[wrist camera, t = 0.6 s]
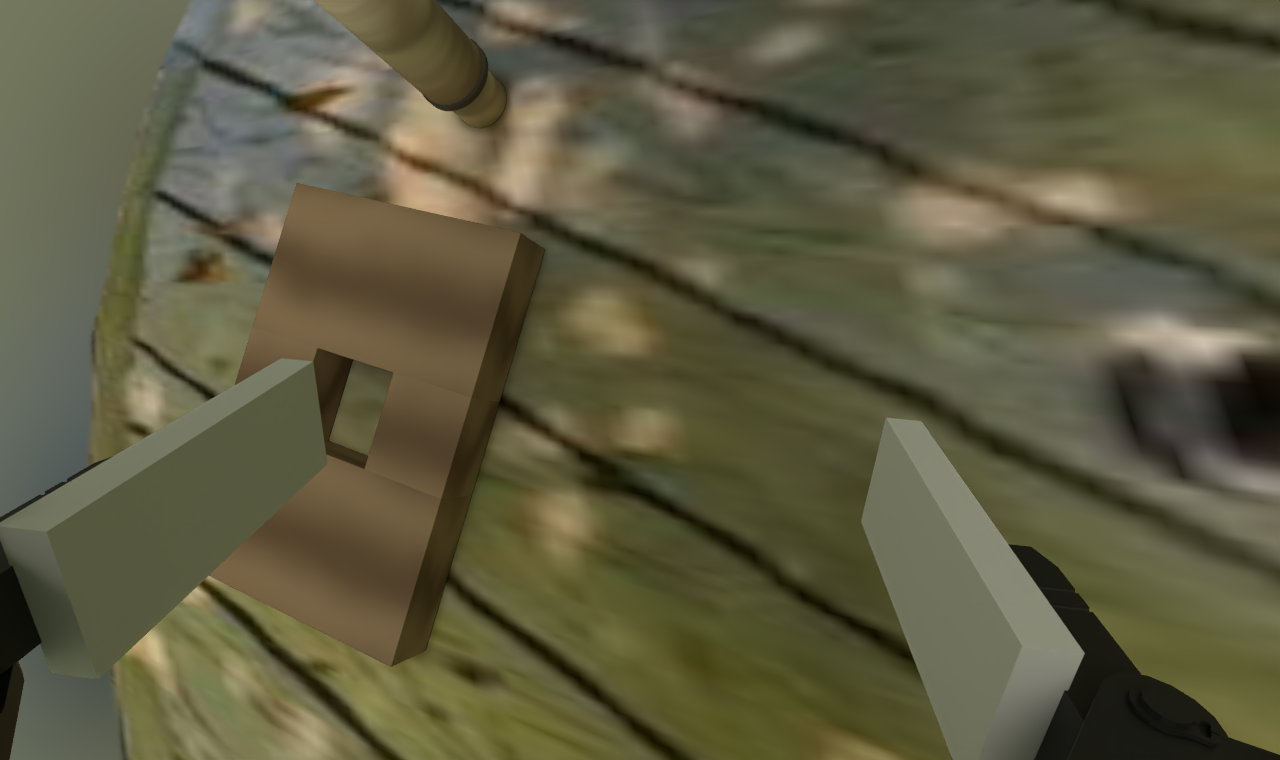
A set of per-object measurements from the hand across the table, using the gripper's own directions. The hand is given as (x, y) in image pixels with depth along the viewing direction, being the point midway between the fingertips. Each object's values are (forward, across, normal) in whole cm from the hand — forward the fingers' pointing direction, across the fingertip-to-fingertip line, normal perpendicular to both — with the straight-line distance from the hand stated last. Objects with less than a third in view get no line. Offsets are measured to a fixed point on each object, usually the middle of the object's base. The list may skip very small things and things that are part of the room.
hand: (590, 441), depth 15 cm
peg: (+29, -12, +7) cm, 32 cm away
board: (+21, -16, -11) cm, 29 cm away
